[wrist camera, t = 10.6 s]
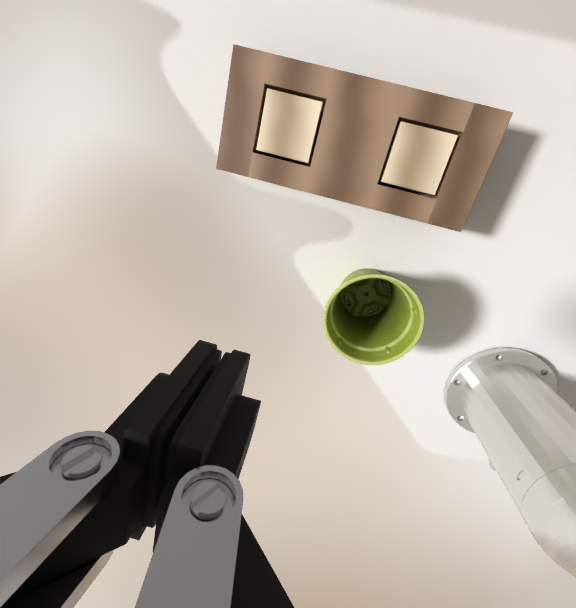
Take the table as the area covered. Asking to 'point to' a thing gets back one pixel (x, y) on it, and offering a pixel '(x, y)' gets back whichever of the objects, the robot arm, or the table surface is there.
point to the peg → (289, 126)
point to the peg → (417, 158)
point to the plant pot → (373, 318)
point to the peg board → (357, 136)
